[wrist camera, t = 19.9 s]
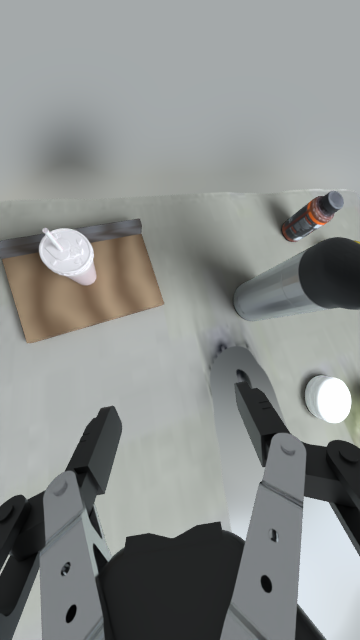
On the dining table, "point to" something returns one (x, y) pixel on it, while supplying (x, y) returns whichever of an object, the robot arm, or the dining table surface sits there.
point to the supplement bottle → (312, 216)
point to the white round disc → (328, 398)
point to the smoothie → (68, 254)
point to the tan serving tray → (73, 298)
